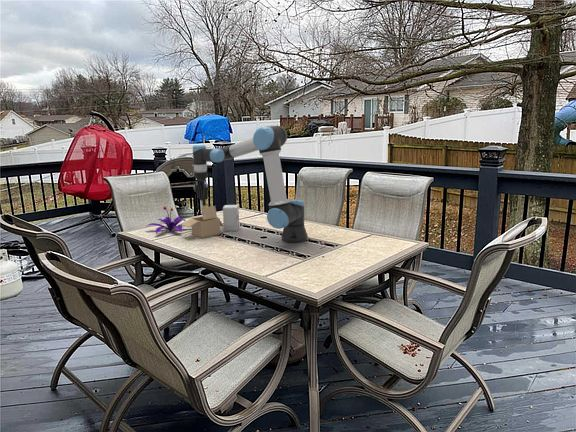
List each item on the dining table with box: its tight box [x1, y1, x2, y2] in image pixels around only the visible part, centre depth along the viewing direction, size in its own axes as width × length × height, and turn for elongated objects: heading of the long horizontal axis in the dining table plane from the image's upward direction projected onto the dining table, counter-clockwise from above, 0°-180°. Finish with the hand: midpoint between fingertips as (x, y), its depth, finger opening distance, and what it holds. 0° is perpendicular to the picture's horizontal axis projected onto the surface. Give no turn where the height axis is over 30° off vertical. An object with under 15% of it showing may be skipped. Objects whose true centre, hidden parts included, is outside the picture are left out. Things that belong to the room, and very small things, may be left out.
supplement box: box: [222, 204, 240, 232], centre depth 266 cm, size 9×9×15 cm
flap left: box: [181, 217, 199, 228], centre depth 248 cm, size 9×1×7 cm
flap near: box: [200, 205, 218, 220], centre depth 249 cm, size 1×9×7 cm, turn 130°
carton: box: [190, 215, 224, 239], centre depth 258 cm, size 16×16×10 cm
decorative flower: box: [145, 206, 187, 234], centre depth 266 cm, size 28×31×15 cm
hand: (203, 210), depth 254 cm, fingers closed
